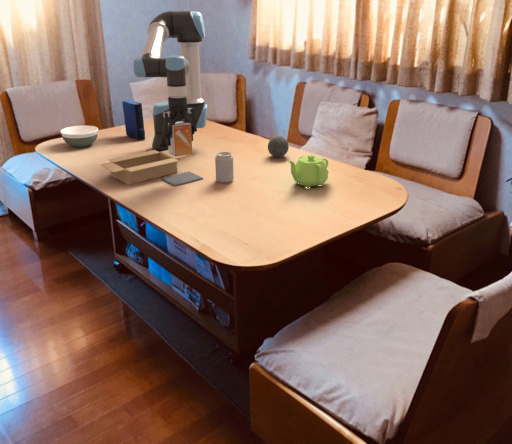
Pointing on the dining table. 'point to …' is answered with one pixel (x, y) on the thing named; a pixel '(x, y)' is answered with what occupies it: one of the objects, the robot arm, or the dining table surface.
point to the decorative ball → (278, 146)
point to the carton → (142, 166)
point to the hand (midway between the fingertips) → (180, 150)
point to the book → (133, 119)
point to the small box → (181, 139)
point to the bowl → (79, 135)
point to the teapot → (310, 170)
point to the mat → (181, 178)
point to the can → (224, 167)
